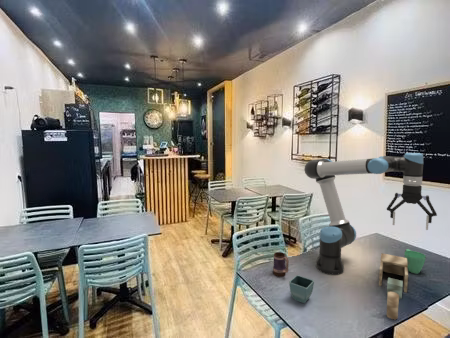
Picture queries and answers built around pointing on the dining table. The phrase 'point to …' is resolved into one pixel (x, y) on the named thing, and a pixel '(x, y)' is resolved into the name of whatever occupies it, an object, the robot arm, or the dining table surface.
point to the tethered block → (393, 297)
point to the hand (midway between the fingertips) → (409, 226)
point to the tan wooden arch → (394, 267)
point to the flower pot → (301, 288)
